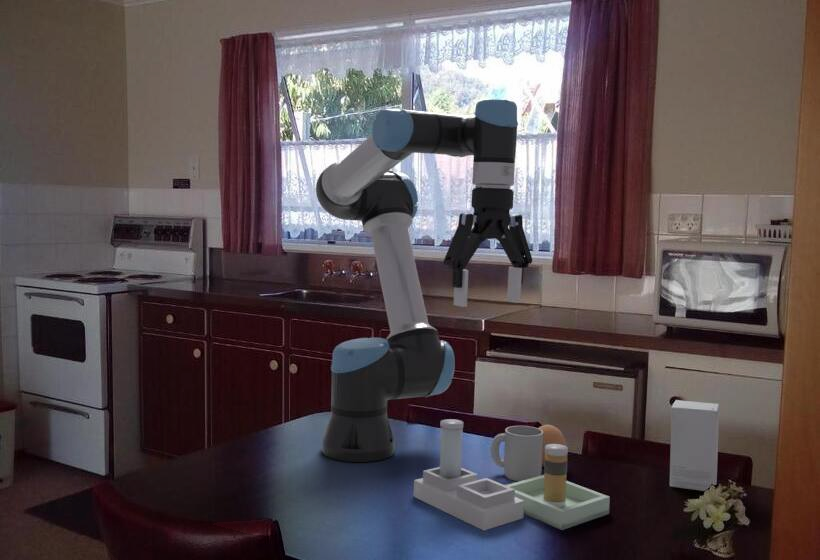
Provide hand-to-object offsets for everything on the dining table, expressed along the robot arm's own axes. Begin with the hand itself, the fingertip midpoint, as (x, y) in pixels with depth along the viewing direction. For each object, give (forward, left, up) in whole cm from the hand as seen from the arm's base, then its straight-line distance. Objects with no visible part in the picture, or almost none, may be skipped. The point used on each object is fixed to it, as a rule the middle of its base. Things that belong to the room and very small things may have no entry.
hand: (487, 304), depth 142 cm
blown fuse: (+16, +2, -33) cm, 37 cm away
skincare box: (+23, +33, -34) cm, 53 cm away
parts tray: (+16, +2, -34) cm, 38 cm away
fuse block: (+7, -10, -34) cm, 36 cm away
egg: (0, +18, -34) cm, 38 cm away
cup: (0, +9, -34) cm, 35 cm away
